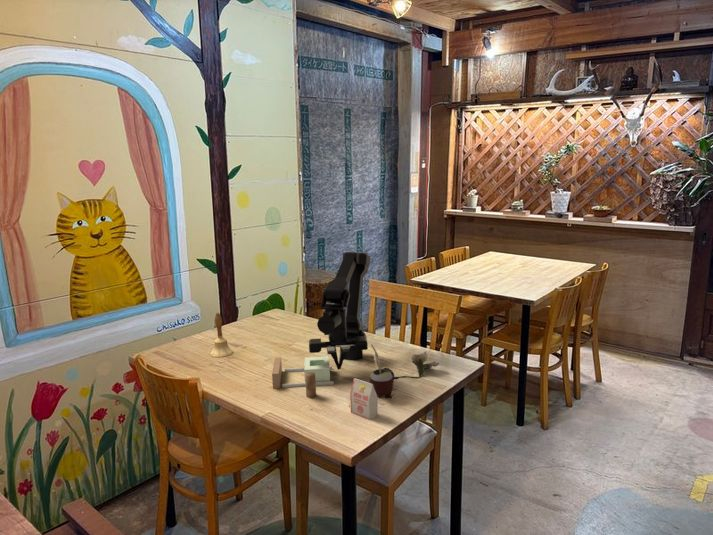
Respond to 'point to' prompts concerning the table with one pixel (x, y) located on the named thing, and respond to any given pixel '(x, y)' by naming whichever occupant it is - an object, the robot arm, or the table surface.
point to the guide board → (278, 371)
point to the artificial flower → (418, 361)
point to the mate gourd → (382, 380)
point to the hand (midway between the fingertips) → (338, 369)
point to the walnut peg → (310, 385)
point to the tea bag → (363, 399)
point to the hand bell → (220, 341)
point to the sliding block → (318, 368)
